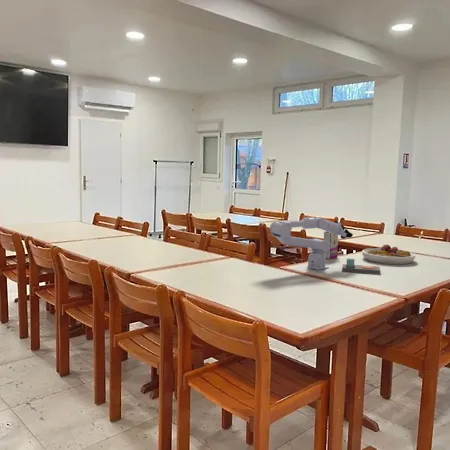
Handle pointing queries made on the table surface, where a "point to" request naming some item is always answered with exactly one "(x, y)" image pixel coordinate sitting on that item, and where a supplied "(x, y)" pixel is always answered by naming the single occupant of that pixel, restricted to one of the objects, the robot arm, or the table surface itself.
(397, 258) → the bowl
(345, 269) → the board with square hole
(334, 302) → the table surface
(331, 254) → the candy bar box
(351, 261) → the plug
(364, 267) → the orange disc
